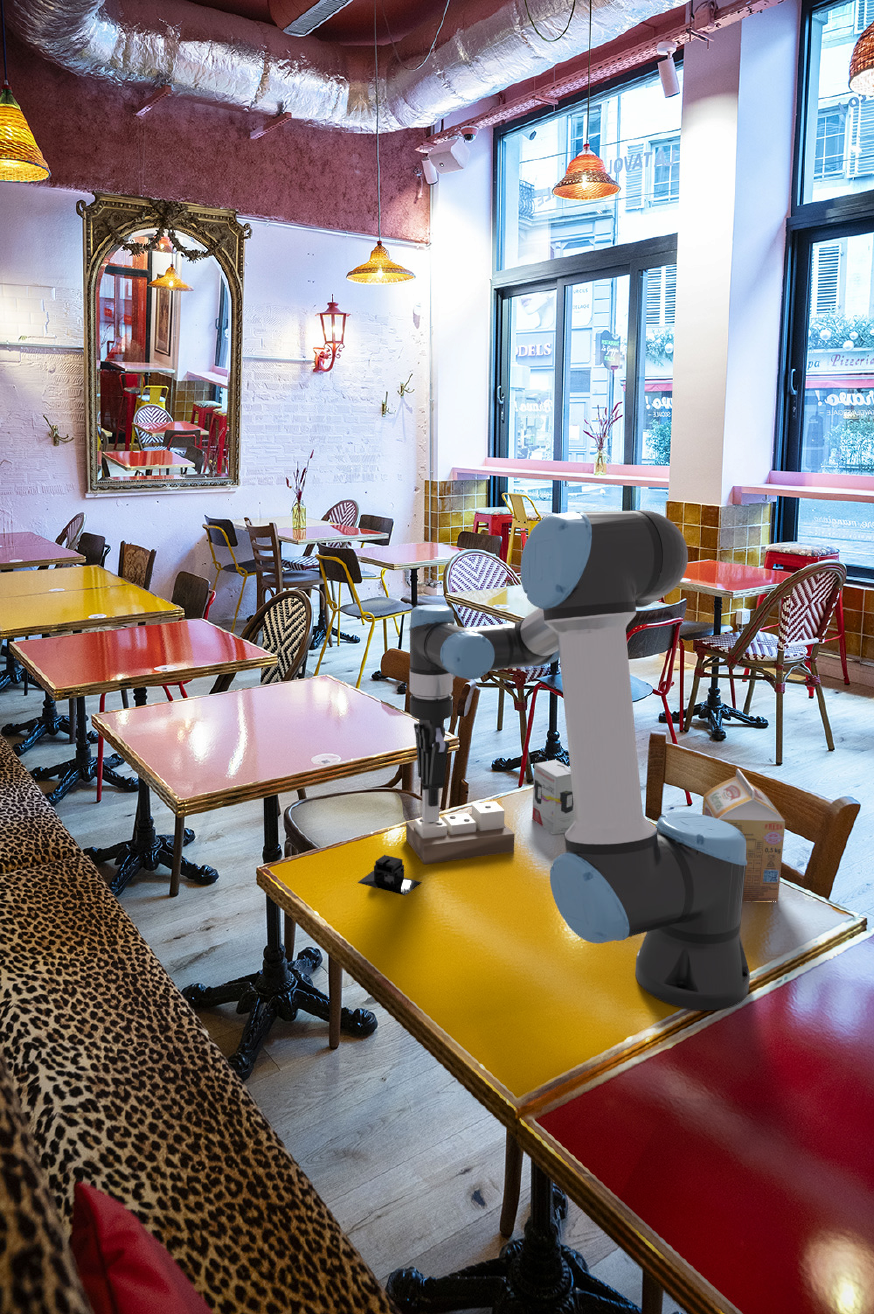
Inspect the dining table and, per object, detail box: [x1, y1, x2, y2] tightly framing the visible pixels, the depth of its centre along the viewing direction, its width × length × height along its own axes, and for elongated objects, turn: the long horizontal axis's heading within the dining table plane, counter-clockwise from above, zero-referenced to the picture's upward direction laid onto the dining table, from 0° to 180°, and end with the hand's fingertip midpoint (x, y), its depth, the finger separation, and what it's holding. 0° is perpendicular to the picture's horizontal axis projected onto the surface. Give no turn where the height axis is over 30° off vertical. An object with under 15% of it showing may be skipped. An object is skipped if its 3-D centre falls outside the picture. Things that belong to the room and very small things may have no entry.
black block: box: [357, 854, 423, 896], centre depth 159 cm, size 12×7×5 cm, turn 61°
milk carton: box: [701, 768, 786, 903], centre depth 156 cm, size 11×11×19 cm
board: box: [405, 813, 515, 865], centre depth 174 cm, size 11×17×4 cm, turn 109°
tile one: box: [471, 801, 505, 831], centre depth 175 cm, size 5×5×5 cm
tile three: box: [414, 816, 447, 839], centre depth 172 cm, size 5×5×5 cm
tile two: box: [443, 812, 476, 835], centre depth 173 cm, size 5×5×5 cm
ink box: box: [531, 759, 575, 835], centre depth 182 cm, size 9×5×12 cm, turn 25°
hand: (430, 820), depth 171 cm, fingers closed
